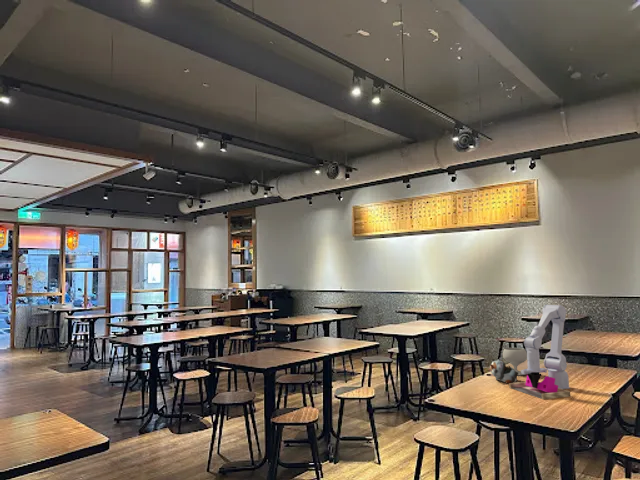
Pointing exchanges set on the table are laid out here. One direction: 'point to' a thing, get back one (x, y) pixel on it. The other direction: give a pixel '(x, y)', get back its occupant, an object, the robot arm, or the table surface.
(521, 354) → the chalice
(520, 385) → the wooden board
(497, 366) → the grey plush toy
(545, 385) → the toy block
